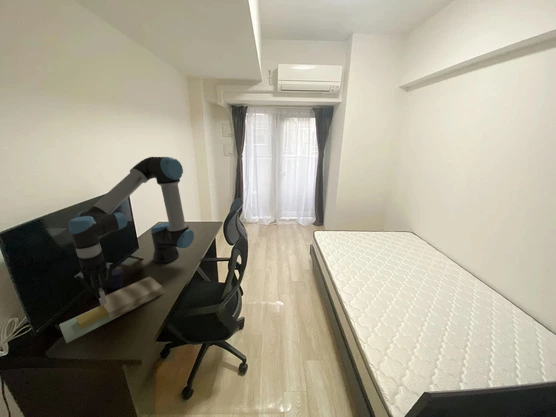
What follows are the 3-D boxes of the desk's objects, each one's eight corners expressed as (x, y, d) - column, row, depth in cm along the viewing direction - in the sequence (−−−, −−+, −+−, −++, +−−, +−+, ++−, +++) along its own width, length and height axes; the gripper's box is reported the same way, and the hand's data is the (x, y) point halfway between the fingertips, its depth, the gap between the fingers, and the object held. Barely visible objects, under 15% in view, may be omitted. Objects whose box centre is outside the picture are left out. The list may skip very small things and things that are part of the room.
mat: (100, 305, 100) (100, 305, 100) (111, 320, 92) (111, 319, 92) (59, 325, 90) (59, 324, 90) (66, 343, 82) (66, 342, 82)
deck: (151, 282, 117) (149, 276, 116) (163, 293, 109) (162, 286, 108) (100, 305, 100) (98, 298, 99) (111, 320, 92) (109, 312, 91)
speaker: (103, 288, 112) (101, 270, 109) (112, 282, 118) (111, 265, 115) (116, 291, 111) (115, 273, 109) (125, 284, 117) (124, 267, 114)
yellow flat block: (103, 309, 98) (102, 305, 97) (107, 315, 95) (106, 311, 94) (77, 321, 91) (75, 317, 91) (80, 328, 88) (79, 324, 87)
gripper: (106, 245, 95) (118, 291, 102) (66, 257, 86) (82, 307, 93) (112, 250, 91) (124, 298, 98) (71, 264, 81) (87, 315, 88)
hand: (104, 302), depth 95 cm, fingers closed
